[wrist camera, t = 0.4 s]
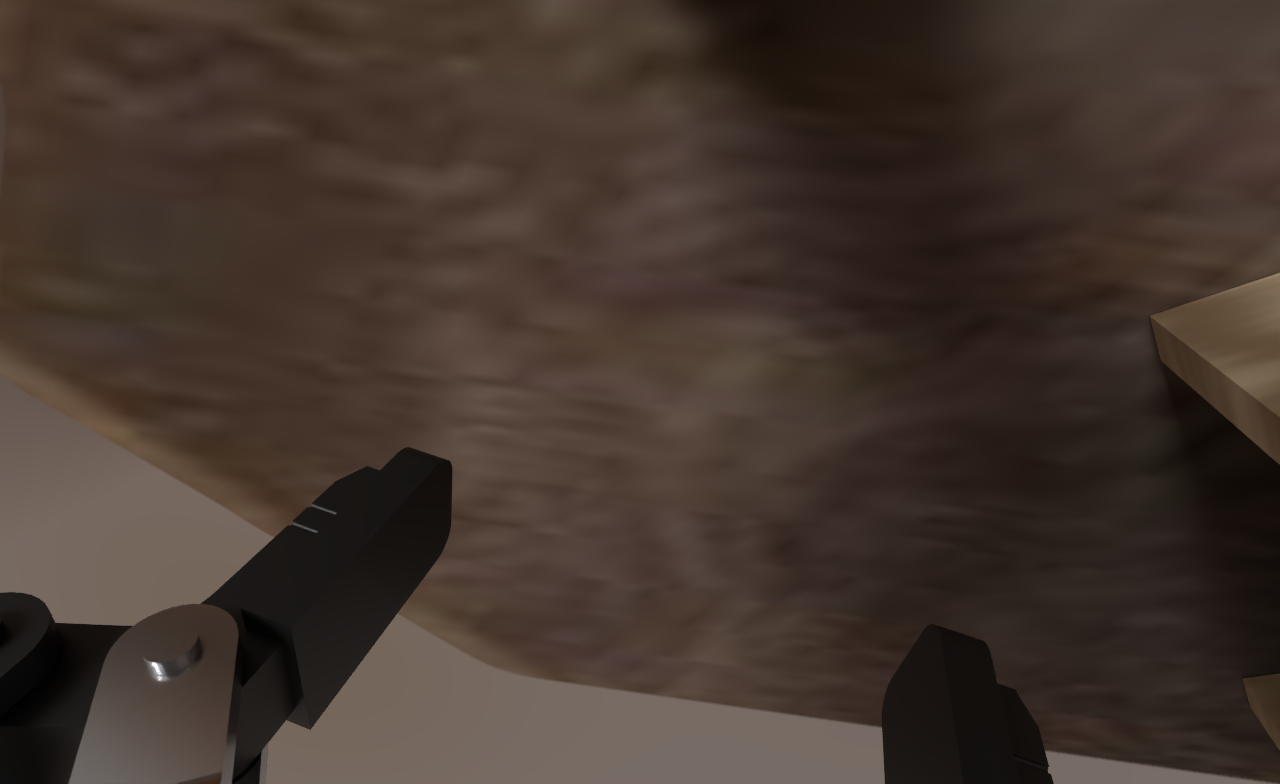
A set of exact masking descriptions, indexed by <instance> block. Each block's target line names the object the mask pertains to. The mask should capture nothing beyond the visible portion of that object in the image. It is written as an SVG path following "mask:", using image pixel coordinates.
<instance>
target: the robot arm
mask: <svg viewBox="0 0 1280 784" xmlns="http://www.w3.org/2000/svg"><path fill="white" fill-rule="evenodd" d="M451 506H452V464H451V462H450V461H449V460H446V459H443V458H440V457H437V456H434V455H431V454H428V453H425V452H422V451H419V450H416V449H413V448H410V447H407V448H404V449H402V450H401V451H400V452H398V453H397V454H396V455H395V456H394V457H393V458H392V459H391V460H390V461H389V462H388V463H387V464H386V465H385V466H384V467H383V468H382V469H381V470H377V469H374V468H371V467H368V466H367V467H365V468H363V469H360V470H358V471H356V472H354V473H352V474H350V475H348V476H346V477H344V478H342V479H339V480H337V481H336V482H334V483H333V484H332V485H331V486H330V487H329V488H328V489H327V490H326V491H325V492H324V493H323V494H321V495H320V496H319V497H318V498H317V499H316V500H315V501H314V502H313V503H312V506H311V507H310V508H309V507H307V508H306V509H305V510H304V511H303V512H302V513H301V514H300V515H299V516H298V517H296V518H295V519H294V520H293V523H292V525H291V526H287V527H286V528H284V529H283V530H282V531H281V532H280V533H279V534H278V535H277V536H276V537H275V538H274V539H272V540H271V541H270V542H269V543H268V544H267V545H266V546H265V547H264V548H263V549H262V550H261V551H260V552H258V553H257V554H256V555H255V556H254V557H253V558H252V559H251V560H250V561H249V562H248V563H246V564H245V565H244V566H243V567H242V568H241V569H240V570H239V571H238V572H237V573H236V574H235V575H233V576H232V577H231V578H230V579H229V580H228V581H227V582H226V583H225V584H224V585H222V586H221V587H220V588H219V589H218V590H217V591H216V592H215V593H214V594H212V595H211V596H210V597H209V598H208V599H206V600H205V601H204V602H202V603H201V604H186V605H180V606H175V607H171V608H168V609H165V610H162V611H159V612H157V613H155V614H152V615H150V616H148V617H146V618H145V619H143V620H141V621H140V622H138V623H137V624H135V625H134V626H115V625H114V626H113V625H90V624H67V623H55V621H54V619H53V617H52V615H51V613H50V611H49V609H48V608H47V606H46V604H45V603H44V602H43V601H41V600H40V599H39V598H36V597H35V596H32V595H28V594H24V593H14V592H8V593H0V784H266V772H267V758H268V742H269V741H270V740H271V738H272V737H273V736H274V735H275V733H276V732H277V731H278V730H279V728H280V727H281V726H282V724H283V723H284V722H285V721H286V720H288V721H290V722H293V723H295V724H298V725H300V726H302V727H305V728H307V729H311V728H312V727H313V726H314V724H315V723H316V722H317V720H318V719H319V717H320V716H321V715H322V713H323V712H324V711H325V709H326V708H327V707H328V705H329V704H330V703H331V701H332V700H333V699H334V697H335V696H336V695H337V693H338V692H339V691H340V689H341V688H342V687H343V685H344V684H345V683H346V681H347V680H348V679H349V677H350V676H351V675H352V673H353V672H354V671H355V669H356V668H357V667H358V665H359V664H360V662H361V661H362V660H363V659H364V657H365V656H366V655H367V653H368V652H369V651H370V649H371V648H372V646H373V645H374V644H375V643H376V641H377V640H378V638H379V637H380V636H381V634H382V633H383V632H384V630H385V629H386V628H387V626H388V625H389V624H390V622H391V621H392V620H393V618H394V617H395V615H396V614H397V613H398V612H399V610H400V609H401V608H402V606H403V605H404V604H405V602H406V601H407V600H408V598H409V597H410V596H411V594H412V593H413V592H414V590H415V589H416V588H417V586H418V585H419V584H420V582H421V581H422V580H423V578H424V577H425V576H426V574H427V573H428V572H429V570H430V569H431V568H432V566H433V565H434V563H435V562H436V561H437V559H438V558H439V556H440V555H441V553H442V551H443V549H444V547H445V545H446V542H447V539H448V536H449V533H450V528H451ZM882 732H883V751H884V772H885V784H1053V780H1052V776H1051V774H1049V773H1048V767H1049V765H1048V761H1047V757H1046V754H1045V750H1044V746H1043V743H1042V739H1041V735H1040V731H1039V728H1038V726H1037V724H1036V723H1035V721H1034V720H1033V718H1032V716H1031V715H1030V713H1029V711H1028V710H1027V708H1026V707H1025V705H1024V703H1023V702H1022V700H1021V699H1020V697H1019V695H1018V694H1017V692H1016V690H1015V689H1012V688H1009V687H1006V686H1003V685H1000V684H997V680H996V676H995V671H994V667H993V663H992V658H991V654H990V650H989V648H988V646H987V644H986V643H985V642H984V641H982V640H979V639H976V638H973V637H970V636H967V635H964V634H961V633H958V632H955V631H952V630H949V629H946V628H943V627H940V626H937V625H934V624H930V625H929V626H927V627H926V628H925V629H924V631H923V632H922V634H921V635H920V637H919V638H918V640H917V641H916V643H915V644H914V646H913V647H912V649H911V650H910V652H909V653H908V655H907V656H906V658H905V659H904V661H903V662H902V664H901V665H900V667H899V668H898V670H897V671H896V673H895V674H894V676H893V677H892V679H891V681H890V683H889V685H888V688H887V691H886V694H885V698H884V703H883V710H882Z"/></svg>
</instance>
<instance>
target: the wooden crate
mask: <svg viewBox="0 0 1280 784" xmlns="http://www.w3.org/2000/svg"><path fill="white" fill-rule="evenodd" d="M1149 317H1150V320H1151V324H1152V328H1153V332H1154V336H1155V340H1156V344H1157V348H1158V352H1159V355H1160V359H1161V361H1162V362H1163V363H1164V364H1165V365H1166V366H1167V367H1169V368H1170V369H1171V370H1172V371H1173V372H1174V373H1175V374H1177V375H1178V376H1179V377H1180V378H1181V379H1182V380H1183V381H1185V382H1186V383H1187V384H1188V385H1189V386H1190V387H1191V388H1193V389H1194V390H1195V391H1196V392H1197V393H1198V394H1199V395H1201V396H1202V397H1203V398H1204V399H1205V400H1206V401H1207V402H1208V403H1210V404H1211V405H1212V406H1213V407H1214V408H1215V409H1216V410H1218V411H1219V412H1220V413H1221V414H1222V415H1223V416H1224V417H1226V418H1227V419H1228V420H1229V421H1230V422H1231V423H1232V424H1234V425H1235V426H1236V427H1237V428H1238V429H1239V430H1240V431H1242V432H1243V433H1244V434H1245V435H1246V436H1247V437H1248V438H1249V439H1251V440H1252V441H1253V442H1254V443H1255V444H1256V445H1257V446H1259V447H1260V448H1261V449H1262V450H1263V451H1264V452H1265V453H1267V454H1268V455H1269V456H1270V457H1271V458H1272V459H1273V460H1275V461H1276V462H1277V463H1278V464H1279V465H1280V273H1277V274H1274V275H1271V276H1268V277H1265V278H1262V279H1259V280H1256V281H1253V282H1250V283H1247V284H1244V285H1241V286H1238V287H1235V288H1232V289H1229V290H1226V291H1223V292H1220V293H1217V294H1214V295H1211V296H1208V297H1205V298H1202V299H1199V300H1196V301H1193V302H1190V303H1187V304H1184V305H1181V306H1178V307H1175V308H1172V309H1169V310H1166V311H1163V312H1160V313H1157V314H1154V315H1150V316H1149ZM1242 679H1243V682H1244V686H1245V690H1246V694H1247V698H1248V702H1249V706H1250V708H1251V709H1252V711H1253V712H1254V714H1255V715H1256V717H1257V718H1258V719H1259V721H1260V722H1261V724H1262V725H1263V727H1264V728H1265V730H1266V731H1267V733H1268V734H1269V736H1270V737H1271V739H1272V740H1273V742H1274V743H1275V745H1276V746H1277V747H1278V749H1279V750H1280V673H1279V674H1272V675H1264V676H1257V677H1249V678H1242Z"/></svg>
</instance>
